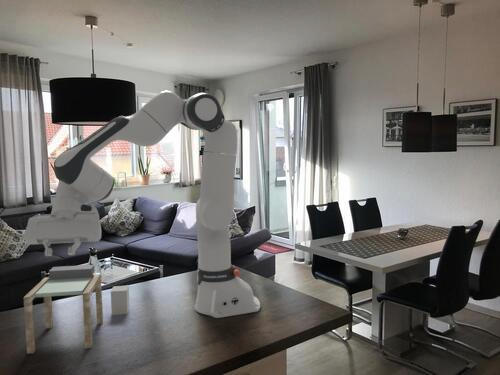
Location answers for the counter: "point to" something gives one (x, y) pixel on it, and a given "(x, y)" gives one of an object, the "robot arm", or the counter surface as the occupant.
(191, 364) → the counter surface
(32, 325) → the frame
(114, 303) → the stone
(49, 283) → the trapdoor
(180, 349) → the counter surface
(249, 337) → the counter surface
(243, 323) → the counter surface
